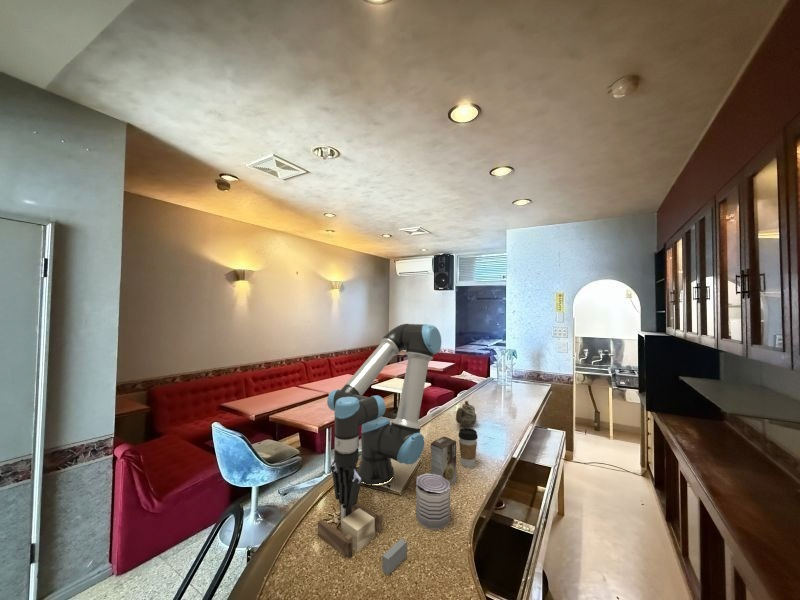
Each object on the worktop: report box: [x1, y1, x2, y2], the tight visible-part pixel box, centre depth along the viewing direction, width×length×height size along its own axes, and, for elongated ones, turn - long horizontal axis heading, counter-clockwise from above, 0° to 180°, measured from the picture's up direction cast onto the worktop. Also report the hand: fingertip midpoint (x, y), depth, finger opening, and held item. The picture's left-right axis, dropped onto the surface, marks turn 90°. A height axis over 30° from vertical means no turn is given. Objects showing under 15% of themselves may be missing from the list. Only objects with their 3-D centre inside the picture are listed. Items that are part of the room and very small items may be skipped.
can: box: [415, 473, 451, 530], centre depth 102 cm, size 11×11×12 cm
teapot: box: [455, 400, 477, 428], centre depth 181 cm, size 21×12×15 cm, turn 144°
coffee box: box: [430, 436, 457, 486], centre depth 123 cm, size 9×6×16 cm
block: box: [340, 508, 376, 553], centre depth 93 cm, size 7×7×6 cm
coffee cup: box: [458, 427, 478, 469], centre depth 137 cm, size 8×8×15 cm
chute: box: [317, 502, 384, 560], centre depth 95 cm, size 14×14×5 cm
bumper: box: [381, 537, 408, 576], centre depth 84 cm, size 8×2×4 cm, turn 141°
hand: (345, 525), depth 96 cm, fingers closed
